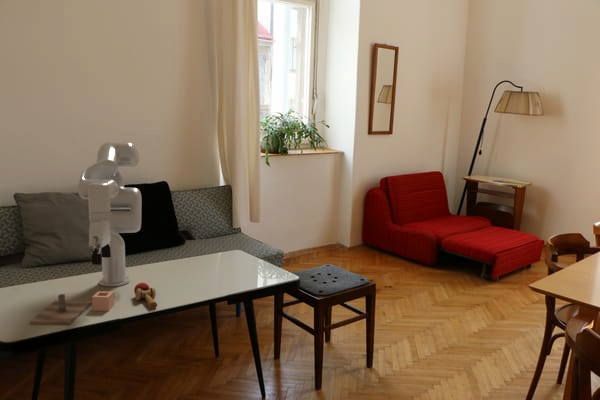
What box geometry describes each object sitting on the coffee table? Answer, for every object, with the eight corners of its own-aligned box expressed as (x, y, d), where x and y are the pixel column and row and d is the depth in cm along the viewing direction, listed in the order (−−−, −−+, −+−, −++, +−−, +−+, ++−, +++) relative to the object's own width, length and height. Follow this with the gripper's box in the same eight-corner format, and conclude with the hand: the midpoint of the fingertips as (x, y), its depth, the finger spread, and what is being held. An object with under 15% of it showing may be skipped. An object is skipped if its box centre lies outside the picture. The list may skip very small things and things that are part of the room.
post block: (55, 303, 205) (54, 285, 204) (91, 303, 205) (91, 286, 204) (30, 323, 185) (28, 304, 184) (70, 324, 186) (69, 305, 184)
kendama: (165, 310, 205) (150, 290, 219) (162, 296, 202) (148, 276, 217) (145, 317, 201) (132, 296, 215) (142, 302, 199) (129, 282, 213)
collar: (98, 305, 204) (98, 291, 203) (114, 305, 204) (113, 291, 203) (92, 310, 198) (92, 296, 197) (108, 311, 198) (108, 297, 197)
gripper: (98, 211, 204) (100, 254, 206) (80, 220, 187) (82, 267, 189) (117, 211, 204) (119, 254, 206) (101, 220, 187) (103, 267, 189)
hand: (101, 260), depth 198 cm, fingers open, 9 cm apart
